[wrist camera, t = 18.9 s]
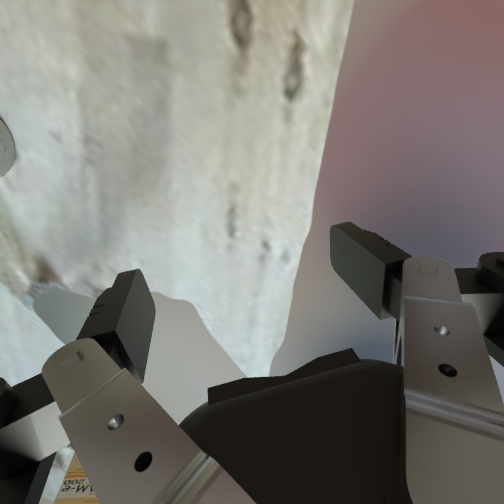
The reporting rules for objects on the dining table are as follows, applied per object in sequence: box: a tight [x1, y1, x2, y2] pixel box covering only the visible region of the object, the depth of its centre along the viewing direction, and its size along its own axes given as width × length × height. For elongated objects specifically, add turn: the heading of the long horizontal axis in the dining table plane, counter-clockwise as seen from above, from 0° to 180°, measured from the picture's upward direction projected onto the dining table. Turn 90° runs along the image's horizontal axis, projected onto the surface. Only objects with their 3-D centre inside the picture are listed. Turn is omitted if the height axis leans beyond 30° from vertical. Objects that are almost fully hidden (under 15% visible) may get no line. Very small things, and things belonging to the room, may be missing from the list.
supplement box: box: [54, 453, 100, 504], centre depth 52 cm, size 8×5×13 cm, turn 76°
